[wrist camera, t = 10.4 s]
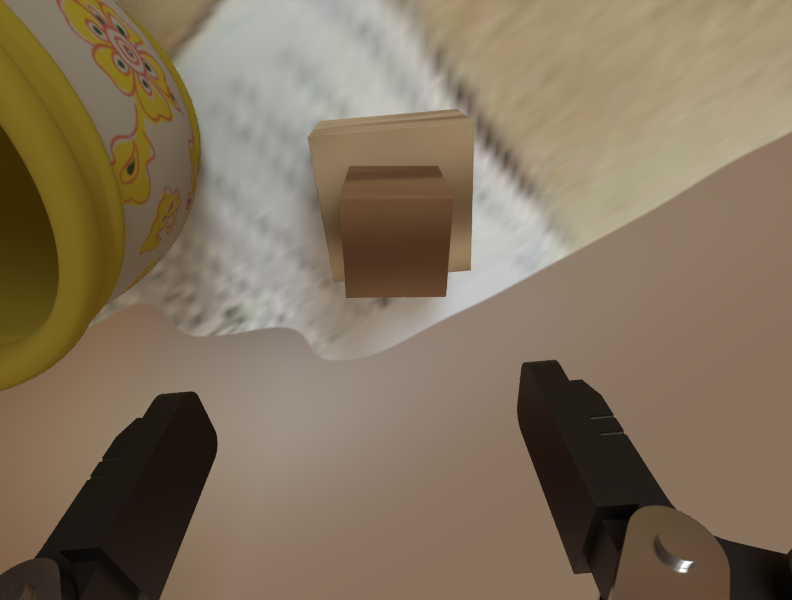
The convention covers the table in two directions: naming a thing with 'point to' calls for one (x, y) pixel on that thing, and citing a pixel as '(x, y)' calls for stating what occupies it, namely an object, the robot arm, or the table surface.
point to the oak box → (396, 146)
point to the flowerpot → (83, 170)
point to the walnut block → (395, 231)
